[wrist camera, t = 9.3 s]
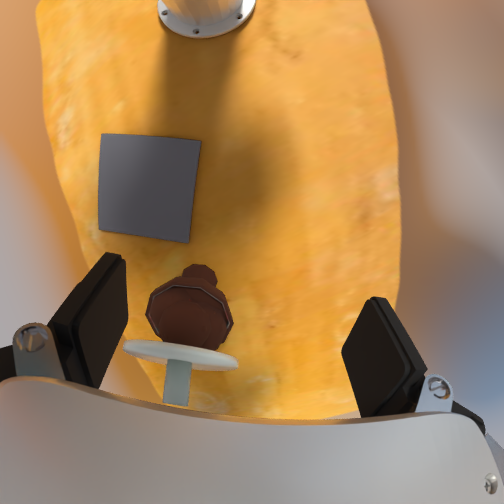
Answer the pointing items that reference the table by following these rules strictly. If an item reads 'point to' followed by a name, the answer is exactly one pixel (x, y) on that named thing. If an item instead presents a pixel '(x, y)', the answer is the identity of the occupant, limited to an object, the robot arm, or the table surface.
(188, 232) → the mat
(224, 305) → the ice cream bowl
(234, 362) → the lid
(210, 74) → the table surface
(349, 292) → the table surface
